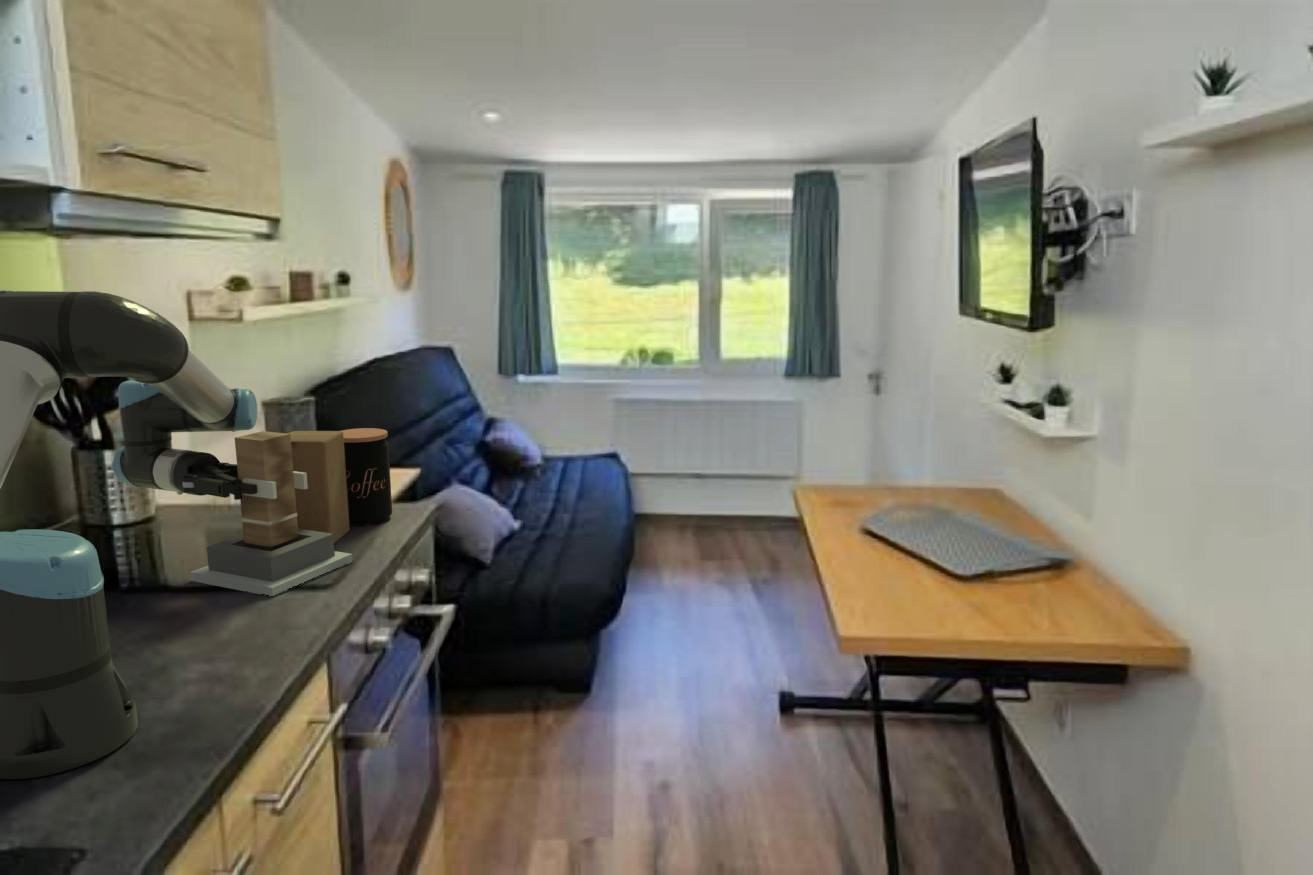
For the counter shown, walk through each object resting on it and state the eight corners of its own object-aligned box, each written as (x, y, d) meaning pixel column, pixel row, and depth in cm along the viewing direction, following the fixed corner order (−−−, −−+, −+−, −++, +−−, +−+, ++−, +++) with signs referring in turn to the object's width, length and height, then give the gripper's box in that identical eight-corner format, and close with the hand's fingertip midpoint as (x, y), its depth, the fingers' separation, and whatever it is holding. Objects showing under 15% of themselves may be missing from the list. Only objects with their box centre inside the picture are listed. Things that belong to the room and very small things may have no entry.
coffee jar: (333, 527, 178) (327, 438, 174) (343, 513, 188) (337, 428, 185) (389, 525, 180) (383, 437, 176) (395, 510, 190) (391, 427, 186)
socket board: (272, 596, 142) (270, 563, 141) (190, 580, 149) (187, 548, 147) (352, 562, 158) (350, 532, 157) (274, 549, 165) (272, 520, 164)
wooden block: (331, 546, 166) (324, 441, 162) (278, 546, 166) (269, 440, 162) (350, 530, 176) (344, 430, 172) (300, 530, 176) (292, 430, 172)
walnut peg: (271, 547, 148) (262, 440, 145) (243, 542, 151) (234, 437, 147) (298, 536, 154) (290, 433, 150) (272, 532, 156) (263, 431, 153)
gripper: (235, 480, 167) (333, 493, 158) (142, 506, 149) (246, 522, 141) (231, 441, 165) (330, 452, 156) (137, 462, 148) (241, 476, 139)
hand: (290, 485), depth 148 cm, fingers closed on walnut peg, 6 cm apart
